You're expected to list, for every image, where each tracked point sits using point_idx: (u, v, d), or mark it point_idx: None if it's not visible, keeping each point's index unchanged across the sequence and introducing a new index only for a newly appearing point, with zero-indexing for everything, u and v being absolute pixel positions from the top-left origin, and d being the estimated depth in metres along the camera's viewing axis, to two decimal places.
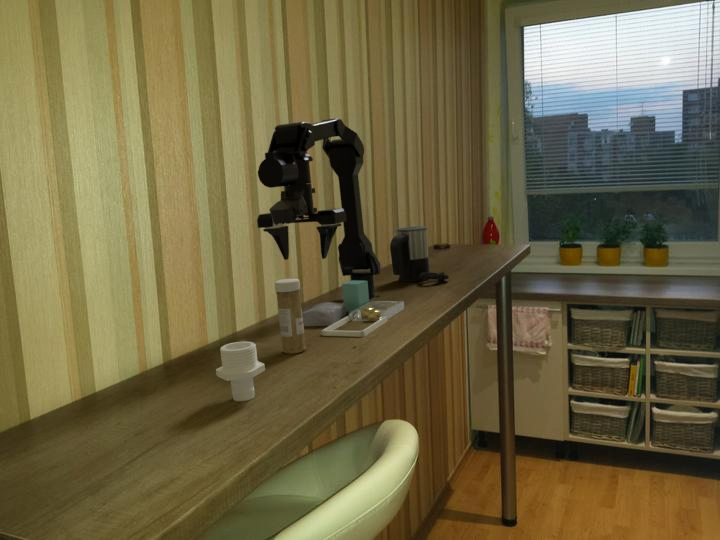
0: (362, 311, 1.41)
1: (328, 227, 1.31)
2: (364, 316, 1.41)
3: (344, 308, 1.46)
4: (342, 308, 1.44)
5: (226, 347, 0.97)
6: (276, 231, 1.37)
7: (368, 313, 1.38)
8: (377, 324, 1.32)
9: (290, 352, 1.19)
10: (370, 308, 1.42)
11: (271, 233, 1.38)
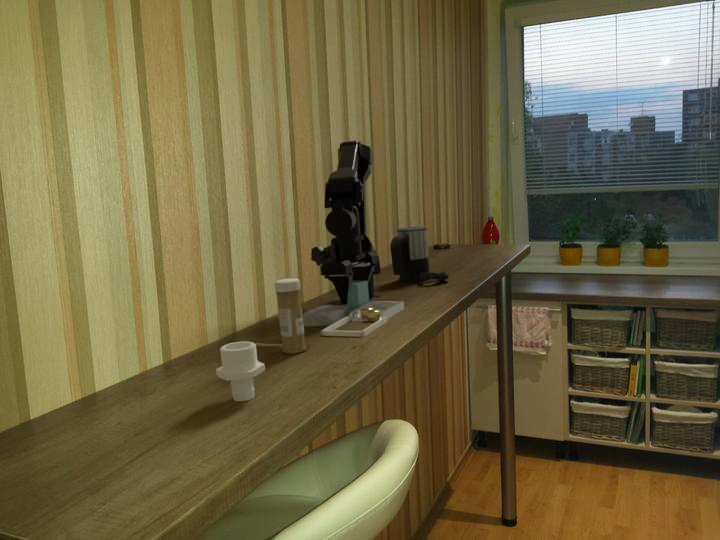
0: (362, 311, 1.41)
1: (324, 277, 1.42)
2: (364, 316, 1.41)
3: (347, 310, 1.46)
4: (345, 310, 1.44)
5: (226, 347, 0.97)
6: (352, 269, 1.53)
7: (368, 313, 1.38)
8: (377, 324, 1.32)
9: (290, 352, 1.19)
10: (370, 308, 1.42)
11: None
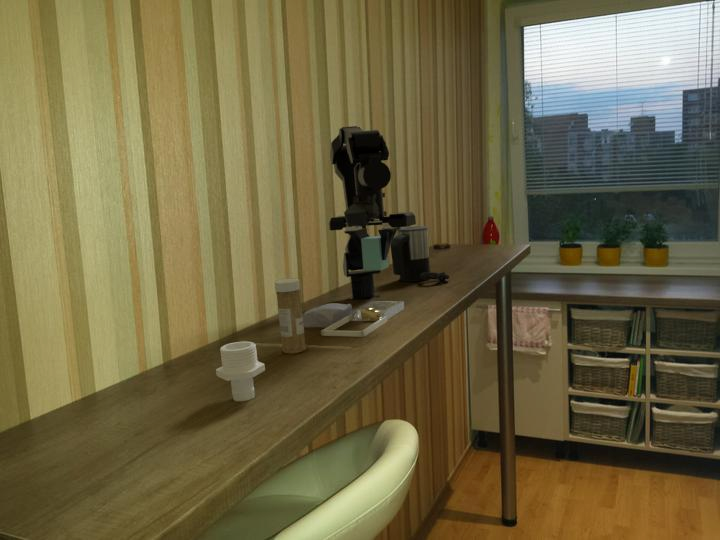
0: (362, 311, 1.41)
1: (389, 230, 1.38)
2: (364, 316, 1.41)
3: (350, 310, 1.44)
4: (347, 310, 1.42)
5: (226, 347, 0.97)
6: (357, 233, 1.43)
7: (368, 313, 1.38)
8: (377, 324, 1.32)
9: (290, 352, 1.19)
10: (370, 308, 1.42)
11: (352, 235, 1.43)
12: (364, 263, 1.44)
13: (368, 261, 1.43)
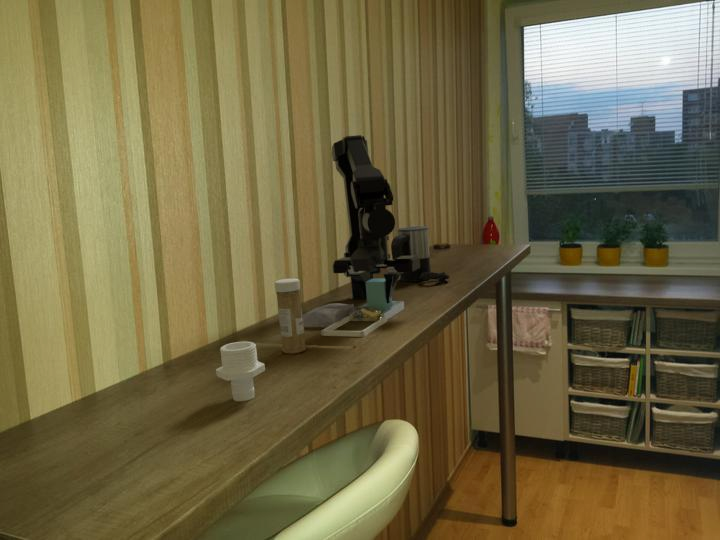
0: (362, 311, 1.41)
1: (395, 274, 1.39)
2: (364, 316, 1.41)
3: (353, 310, 1.44)
4: (349, 310, 1.42)
5: (226, 347, 0.97)
6: (361, 276, 1.43)
7: (368, 313, 1.38)
8: (377, 324, 1.32)
9: (290, 352, 1.19)
10: (370, 308, 1.42)
11: (356, 278, 1.43)
12: (368, 306, 1.44)
13: (372, 304, 1.43)
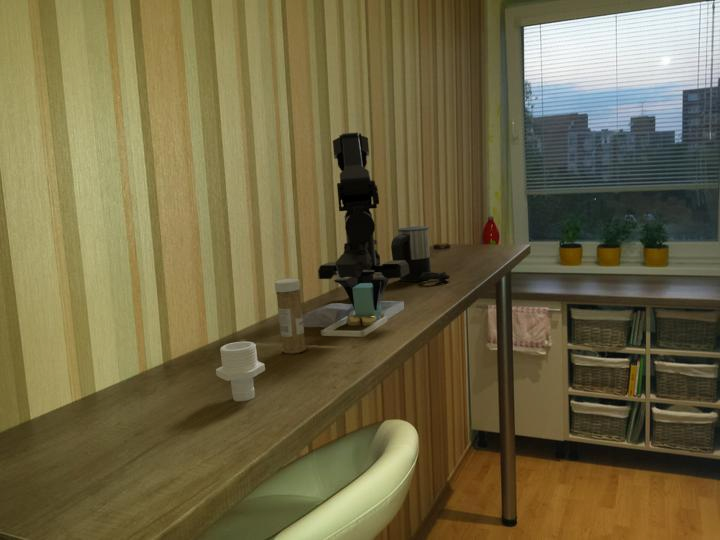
0: (349, 319, 1.35)
1: (383, 280, 1.32)
2: (351, 324, 1.35)
3: (353, 310, 1.43)
4: (350, 310, 1.42)
5: (226, 347, 0.97)
6: (348, 282, 1.36)
7: (364, 319, 1.34)
8: (377, 324, 1.32)
9: (290, 352, 1.19)
10: (358, 316, 1.36)
11: (342, 284, 1.37)
12: (356, 313, 1.38)
13: (360, 311, 1.37)
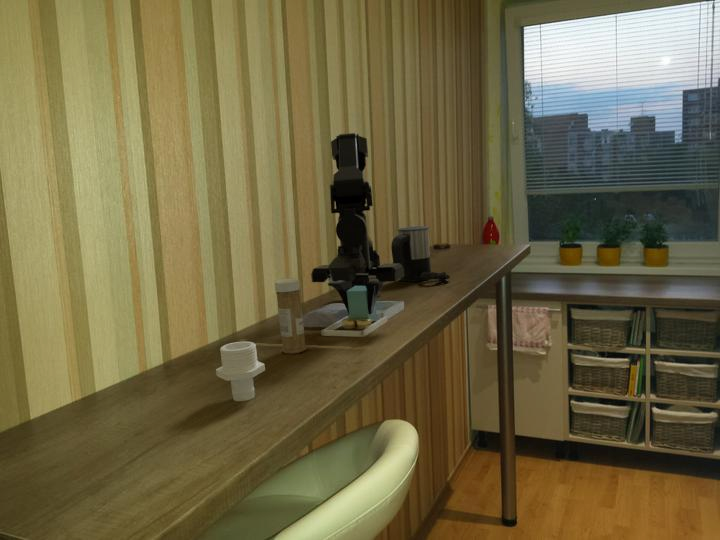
0: (344, 322, 1.33)
1: (377, 284, 1.30)
2: (346, 327, 1.33)
3: None
4: None
5: (226, 347, 0.97)
6: (341, 286, 1.34)
7: (359, 322, 1.31)
8: (377, 324, 1.32)
9: (290, 352, 1.19)
10: (352, 319, 1.34)
11: (336, 287, 1.34)
12: (351, 316, 1.35)
13: (355, 314, 1.35)
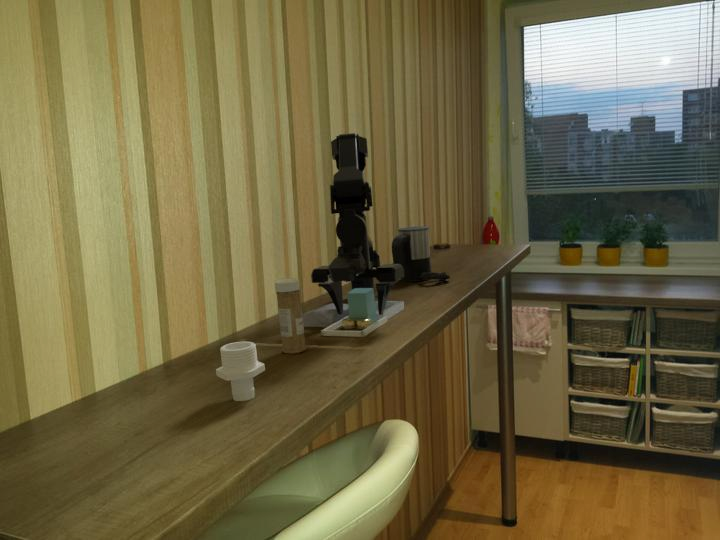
0: (344, 322, 1.33)
1: (387, 284, 1.29)
2: (346, 327, 1.33)
3: None
4: (348, 310, 1.42)
5: (226, 347, 0.97)
6: (331, 286, 1.35)
7: (359, 322, 1.31)
8: (377, 324, 1.32)
9: (290, 352, 1.19)
10: (352, 319, 1.33)
11: (326, 288, 1.35)
12: None
13: (355, 316, 1.35)
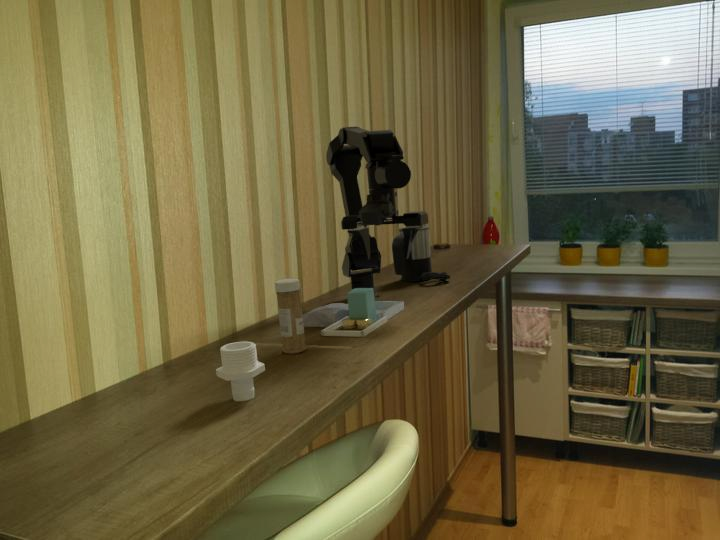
0: (344, 322, 1.33)
1: (414, 229, 1.39)
2: (346, 327, 1.33)
3: None
4: None
5: (226, 347, 0.97)
6: (360, 232, 1.45)
7: (359, 322, 1.31)
8: (377, 324, 1.32)
9: (290, 352, 1.19)
10: (352, 319, 1.33)
11: (355, 234, 1.45)
12: None
13: (355, 316, 1.35)
